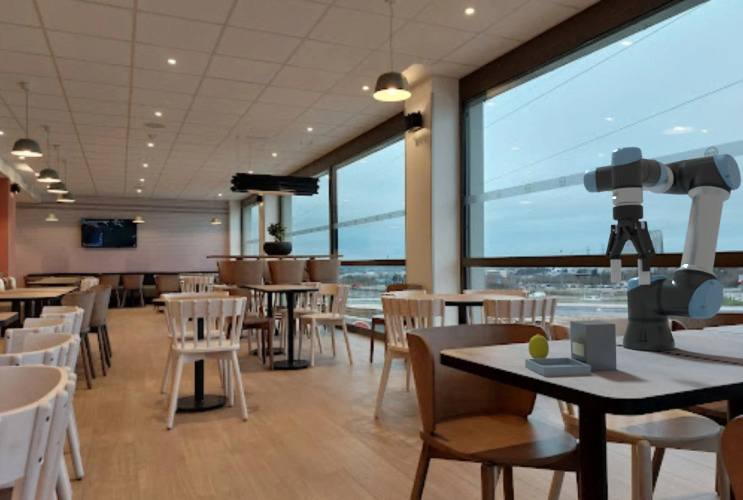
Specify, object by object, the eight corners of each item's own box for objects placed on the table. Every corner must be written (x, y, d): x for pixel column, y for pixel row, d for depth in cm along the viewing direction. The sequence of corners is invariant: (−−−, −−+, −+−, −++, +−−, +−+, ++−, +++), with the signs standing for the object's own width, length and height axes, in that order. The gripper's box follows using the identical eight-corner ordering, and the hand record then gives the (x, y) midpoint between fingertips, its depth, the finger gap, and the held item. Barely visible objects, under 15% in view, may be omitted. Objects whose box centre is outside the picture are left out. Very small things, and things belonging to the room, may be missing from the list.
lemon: (546, 360, 159) (546, 332, 159) (551, 363, 153) (550, 335, 153) (527, 360, 159) (526, 332, 159) (530, 363, 154) (530, 335, 154)
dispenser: (600, 363, 152) (599, 320, 152) (618, 370, 143) (616, 323, 143) (570, 364, 151) (569, 321, 152) (586, 371, 142) (584, 324, 143)
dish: (569, 365, 151) (568, 357, 151) (591, 374, 139) (590, 365, 139) (525, 366, 150) (525, 358, 150) (543, 375, 137) (543, 367, 138)
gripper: (591, 209, 161) (593, 282, 161) (640, 199, 136) (643, 285, 136) (616, 209, 162) (618, 281, 161) (669, 199, 137) (672, 284, 137)
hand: (629, 283), depth 149 cm, fingers open, 13 cm apart
